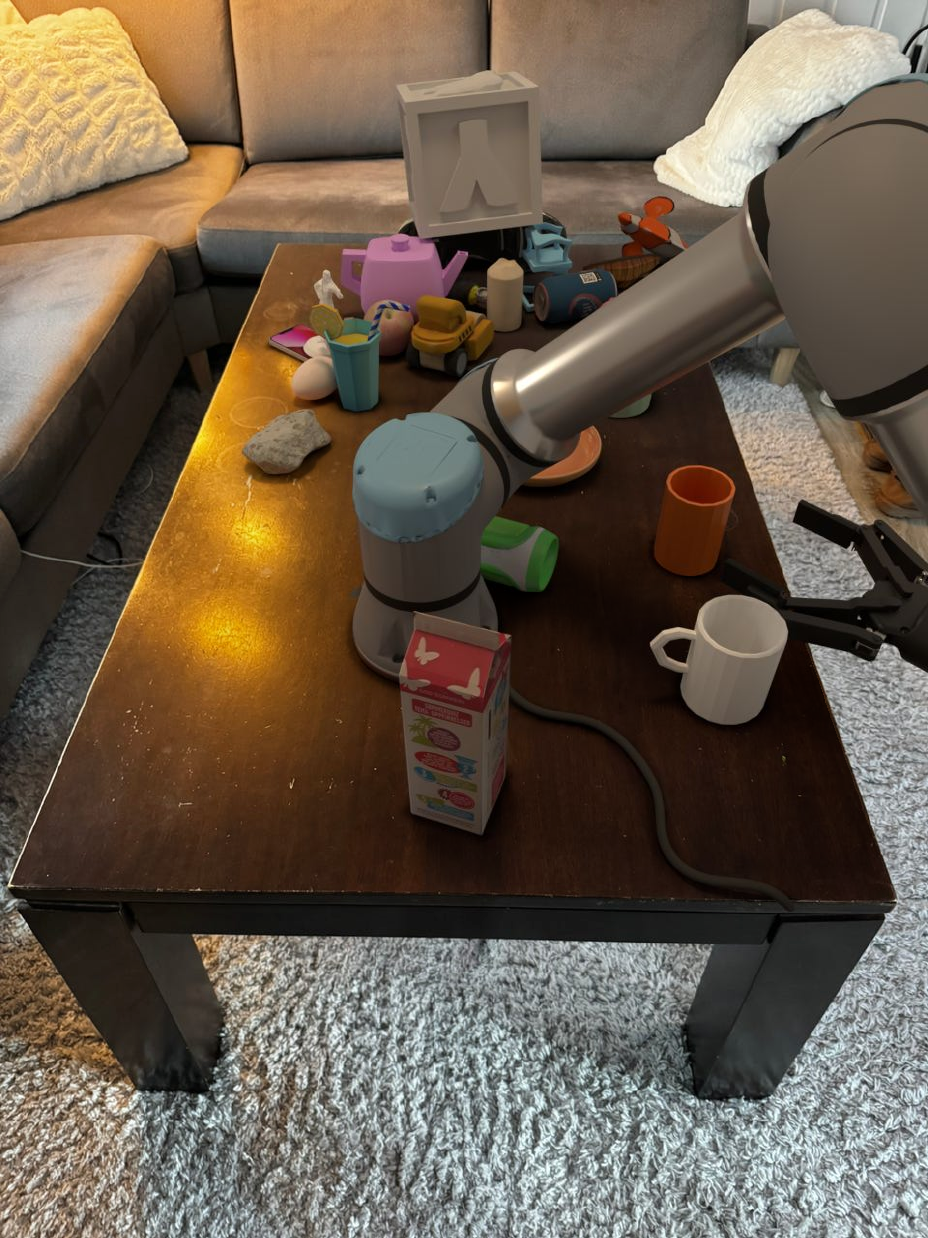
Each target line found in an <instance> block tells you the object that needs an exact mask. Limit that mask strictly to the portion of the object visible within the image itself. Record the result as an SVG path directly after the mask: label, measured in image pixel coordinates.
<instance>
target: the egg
mask: <svg viewBox="0 0 928 1238" xmlns="http://www.w3.org/2000/svg"><path fill="white" fill-rule="evenodd" d="M290 387H291V391H292V392H293V394H294V395H295V396H296V397H297V398H299V399H301V400H304V401H315V400H321V399H323V398H326V397H327V396H330V395H331V394H332V393H334V392H335V391H336V389H338V385H337V381H336V376H335V372H334V367H333V362H332V359H331V358H328V357H324V356H318V357H314V358H311V359H309V360H307V361H305V362H304V361H303V363H302V364H300V365H299V367H297V369H296V370H295V372H294V373H293V376H292V378H291V386H290Z"/></svg>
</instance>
